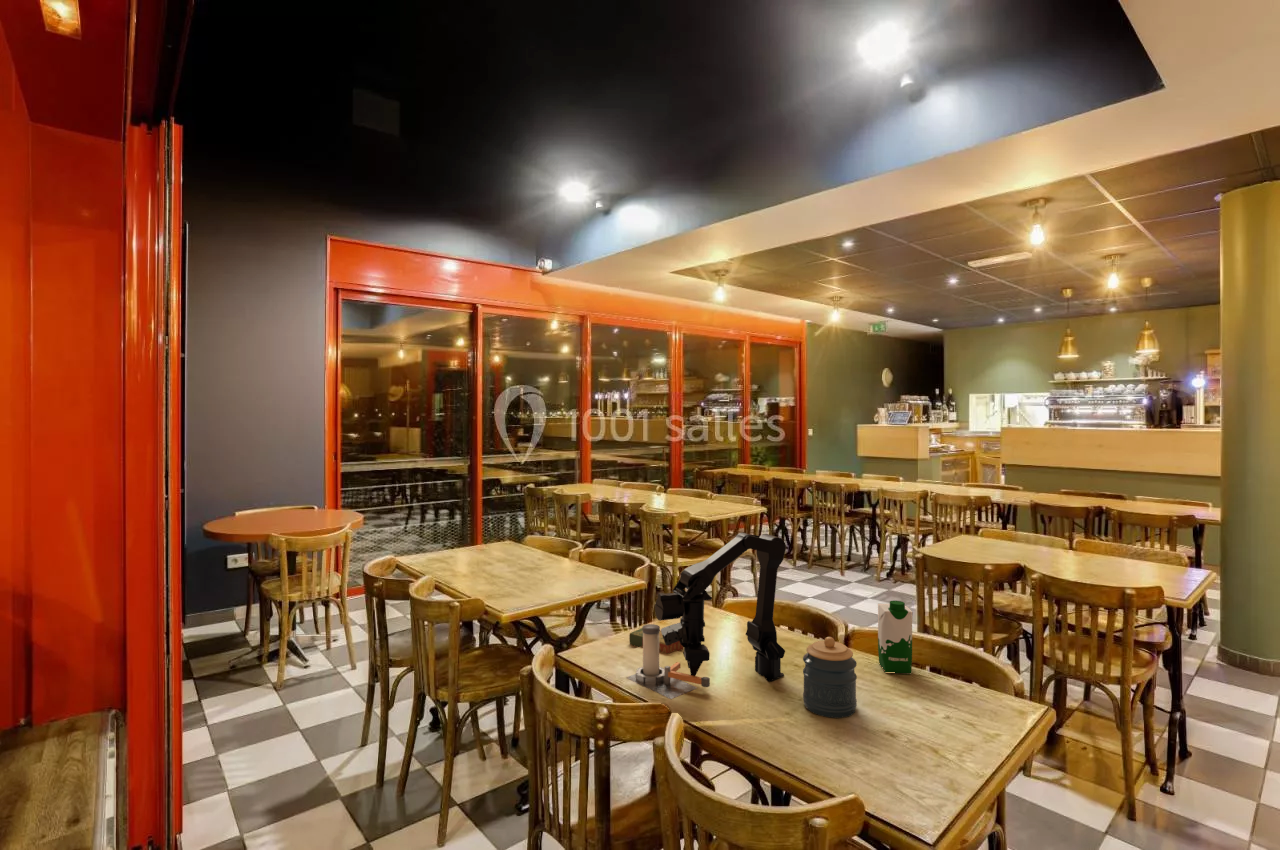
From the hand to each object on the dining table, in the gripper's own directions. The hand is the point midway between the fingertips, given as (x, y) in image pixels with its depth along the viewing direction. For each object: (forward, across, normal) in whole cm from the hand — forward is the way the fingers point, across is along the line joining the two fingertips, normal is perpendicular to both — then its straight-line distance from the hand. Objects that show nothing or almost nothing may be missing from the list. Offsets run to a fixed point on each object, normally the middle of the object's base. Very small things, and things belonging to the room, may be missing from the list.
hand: (691, 672), depth 171 cm
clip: (+3, +1, 0) cm, 3 cm away
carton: (+6, -30, -7) cm, 32 cm away
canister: (+3, +15, +33) cm, 36 cm away
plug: (+4, -4, -11) cm, 12 cm away
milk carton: (+3, -7, +60) cm, 61 cm away
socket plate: (+4, -1, -8) cm, 9 cm away
